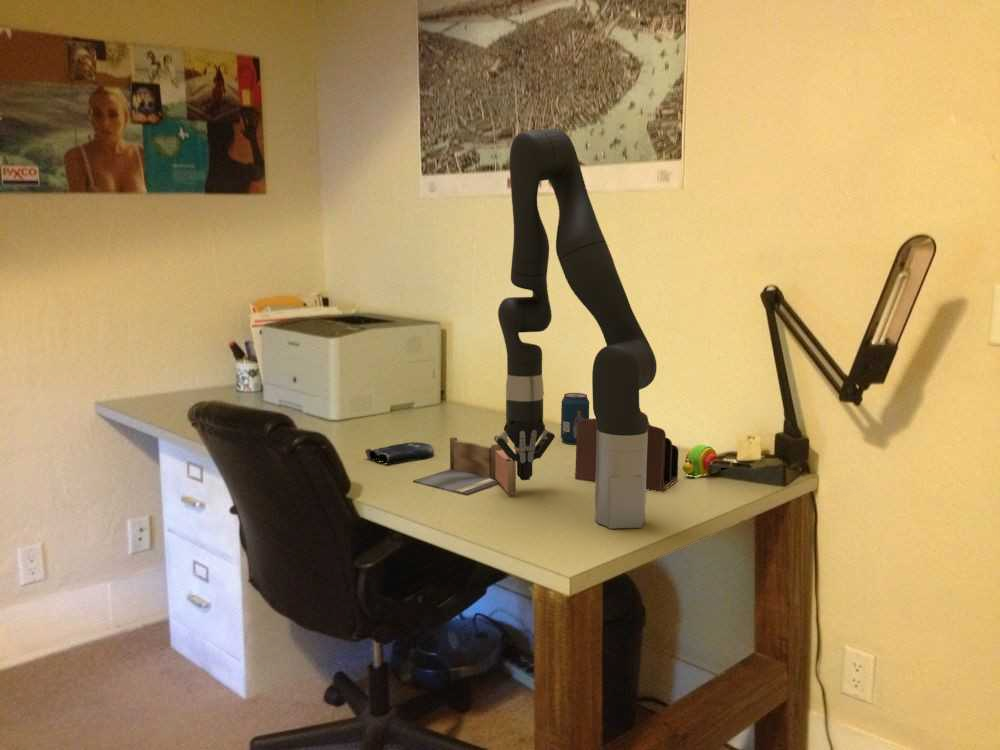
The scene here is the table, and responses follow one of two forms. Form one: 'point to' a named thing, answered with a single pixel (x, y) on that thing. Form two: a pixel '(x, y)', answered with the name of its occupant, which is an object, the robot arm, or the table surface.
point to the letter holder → (658, 456)
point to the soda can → (573, 415)
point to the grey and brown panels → (466, 469)
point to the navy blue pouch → (401, 452)
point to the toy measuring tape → (699, 460)
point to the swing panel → (505, 471)
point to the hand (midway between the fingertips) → (524, 479)
